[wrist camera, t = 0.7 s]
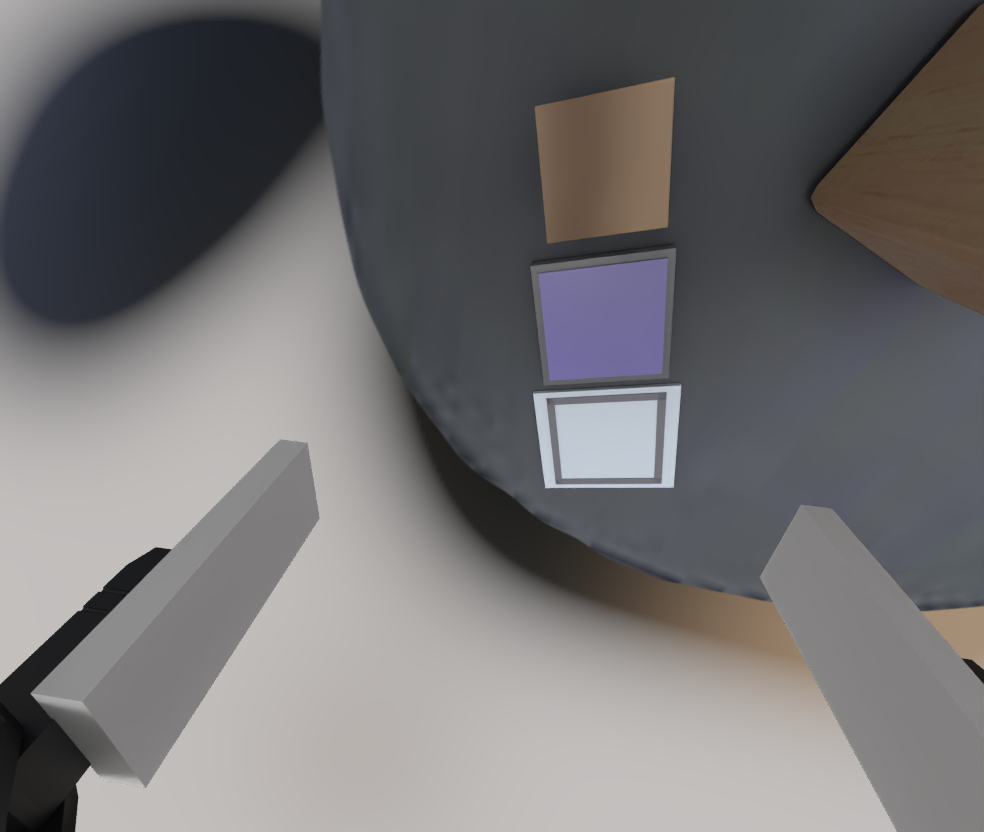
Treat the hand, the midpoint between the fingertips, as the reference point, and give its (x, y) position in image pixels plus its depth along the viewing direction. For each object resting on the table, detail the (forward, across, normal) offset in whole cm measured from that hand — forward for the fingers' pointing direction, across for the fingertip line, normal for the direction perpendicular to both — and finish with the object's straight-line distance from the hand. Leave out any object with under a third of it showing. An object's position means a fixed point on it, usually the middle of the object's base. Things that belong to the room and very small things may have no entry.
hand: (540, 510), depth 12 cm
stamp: (+21, +2, +9) cm, 23 cm away
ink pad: (+21, +4, 0) cm, 22 cm away
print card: (+22, +7, -11) cm, 25 cm away
